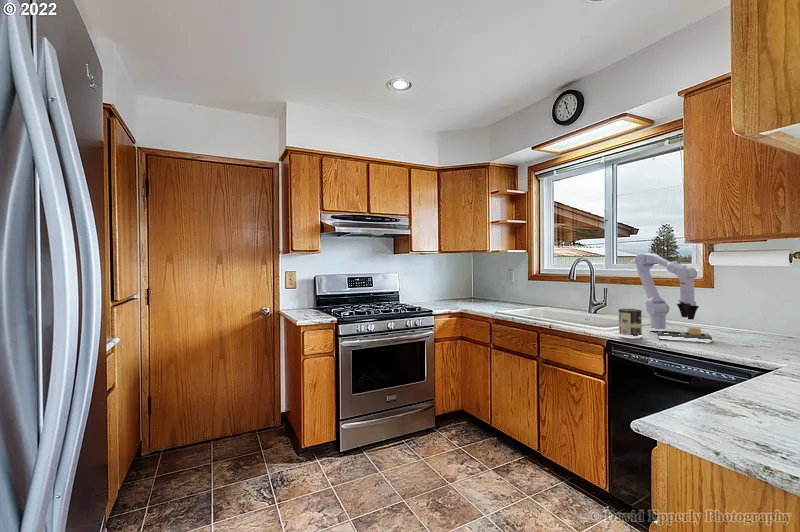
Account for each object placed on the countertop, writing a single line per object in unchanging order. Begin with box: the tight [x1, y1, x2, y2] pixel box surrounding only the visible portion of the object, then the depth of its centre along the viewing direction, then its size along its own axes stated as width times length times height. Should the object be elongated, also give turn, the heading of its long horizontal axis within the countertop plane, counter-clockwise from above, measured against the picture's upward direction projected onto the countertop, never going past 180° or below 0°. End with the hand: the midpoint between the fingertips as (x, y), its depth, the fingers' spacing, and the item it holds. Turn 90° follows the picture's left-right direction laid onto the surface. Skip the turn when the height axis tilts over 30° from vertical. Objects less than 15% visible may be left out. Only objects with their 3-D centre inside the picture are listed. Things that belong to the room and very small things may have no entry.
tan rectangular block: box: [686, 326, 702, 336], centre depth 186 cm, size 4×4×6 cm
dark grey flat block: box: [657, 330, 713, 341], centre depth 189 cm, size 10×20×3 cm, turn 59°
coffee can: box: [618, 308, 643, 336], centre depth 196 cm, size 10×10×14 cm
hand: (687, 318), depth 195 cm, fingers open, 7 cm apart
